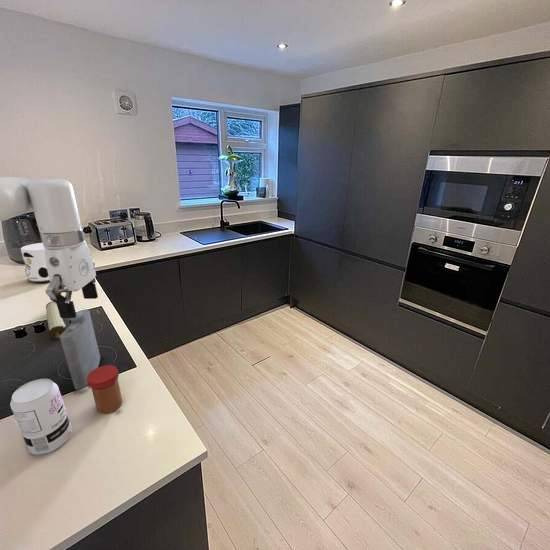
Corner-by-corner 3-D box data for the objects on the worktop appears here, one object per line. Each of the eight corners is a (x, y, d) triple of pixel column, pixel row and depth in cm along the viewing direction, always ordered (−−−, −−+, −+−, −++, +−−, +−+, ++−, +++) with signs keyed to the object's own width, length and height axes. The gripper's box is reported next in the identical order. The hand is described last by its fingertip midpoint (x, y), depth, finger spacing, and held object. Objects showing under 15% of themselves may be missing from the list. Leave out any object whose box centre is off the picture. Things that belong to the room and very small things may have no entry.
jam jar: (92, 414, 74) (84, 385, 71) (103, 396, 80) (96, 368, 76) (116, 413, 75) (110, 384, 71) (126, 395, 80) (120, 368, 77)
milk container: (19, 282, 149) (8, 249, 143) (51, 271, 165) (42, 240, 158) (46, 286, 146) (36, 252, 139) (75, 274, 161) (68, 243, 155)
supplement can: (28, 437, 68) (7, 387, 62) (70, 419, 73) (54, 371, 67) (29, 464, 62) (7, 411, 56) (74, 442, 67) (58, 392, 61)
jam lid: (96, 370, 77) (95, 365, 76) (123, 370, 77) (122, 364, 77) (82, 389, 71) (80, 383, 70) (111, 389, 71) (110, 382, 70)
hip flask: (90, 356, 96) (77, 302, 88) (104, 354, 97) (91, 301, 89) (73, 390, 81) (54, 330, 74) (89, 388, 82) (72, 328, 75)
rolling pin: (47, 309, 124) (44, 299, 122) (63, 306, 127) (60, 296, 125) (50, 346, 100) (46, 334, 98) (69, 340, 103) (66, 329, 101)
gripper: (56, 249, 55) (77, 326, 61) (100, 229, 71) (112, 292, 78) (15, 249, 55) (39, 326, 61) (68, 229, 71) (83, 292, 77)
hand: (80, 307), depth 69 cm, fingers open, 9 cm apart
